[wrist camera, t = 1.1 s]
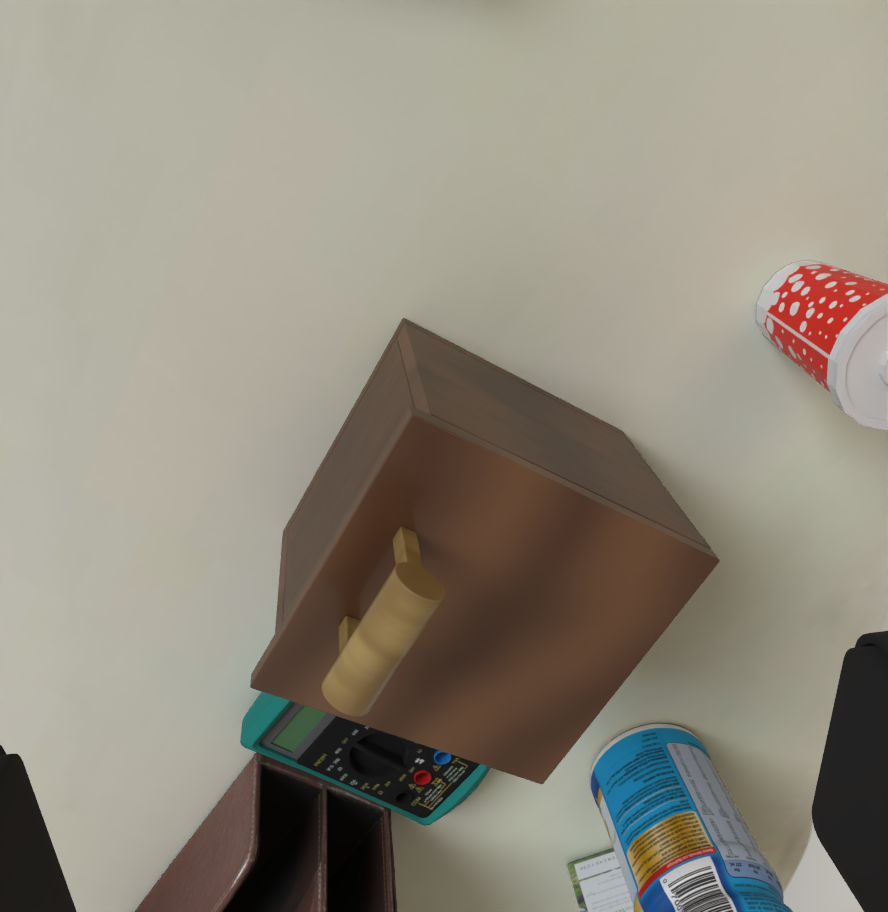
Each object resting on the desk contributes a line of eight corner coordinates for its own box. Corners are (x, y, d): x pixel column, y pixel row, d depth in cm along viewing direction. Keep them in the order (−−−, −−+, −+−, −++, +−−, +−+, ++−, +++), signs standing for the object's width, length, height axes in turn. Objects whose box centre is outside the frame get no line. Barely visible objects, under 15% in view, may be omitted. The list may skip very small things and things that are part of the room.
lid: (251, 674, 35) (239, 776, 30) (409, 404, 31) (426, 473, 26) (538, 771, 40) (568, 873, 35) (712, 549, 35) (774, 631, 30)
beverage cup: (838, 360, 46) (1032, 482, 33) (731, 360, 45) (889, 485, 32) (868, 245, 43) (1092, 332, 30) (755, 243, 42) (937, 331, 30)
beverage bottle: (722, 721, 57) (906, 1034, 39) (682, 811, 60) (833, 1136, 42) (605, 713, 55) (741, 1037, 37) (570, 806, 58) (680, 1143, 41)
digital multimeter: (430, 802, 57) (436, 839, 54) (237, 715, 51) (232, 752, 48) (499, 731, 55) (508, 766, 52) (306, 632, 49) (305, 666, 46)
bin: (282, 532, 46) (271, 680, 35) (403, 317, 41) (431, 413, 31) (492, 616, 50) (538, 770, 40) (622, 431, 46) (712, 548, 35)
